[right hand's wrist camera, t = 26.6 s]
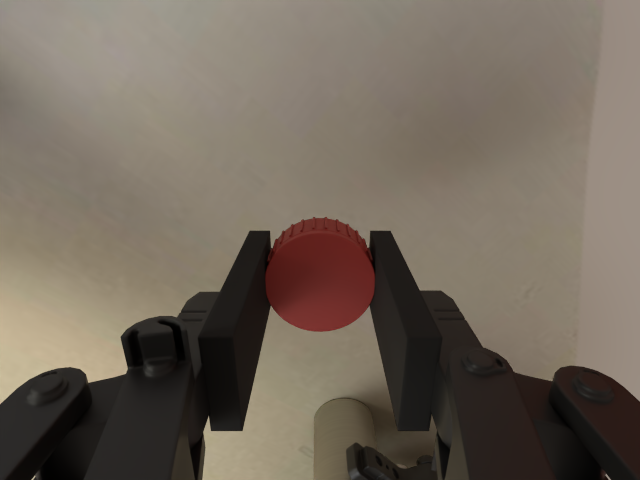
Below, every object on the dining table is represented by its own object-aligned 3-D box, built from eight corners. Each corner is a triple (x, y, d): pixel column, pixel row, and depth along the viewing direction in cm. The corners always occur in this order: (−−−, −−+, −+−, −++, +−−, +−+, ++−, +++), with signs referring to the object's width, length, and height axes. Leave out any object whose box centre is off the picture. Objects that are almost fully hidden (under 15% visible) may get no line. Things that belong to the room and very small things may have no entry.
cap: (317, 194, 13) (317, 207, 12) (393, 263, 14) (401, 283, 13) (247, 267, 15) (239, 287, 13) (322, 326, 16) (322, 351, 14)
